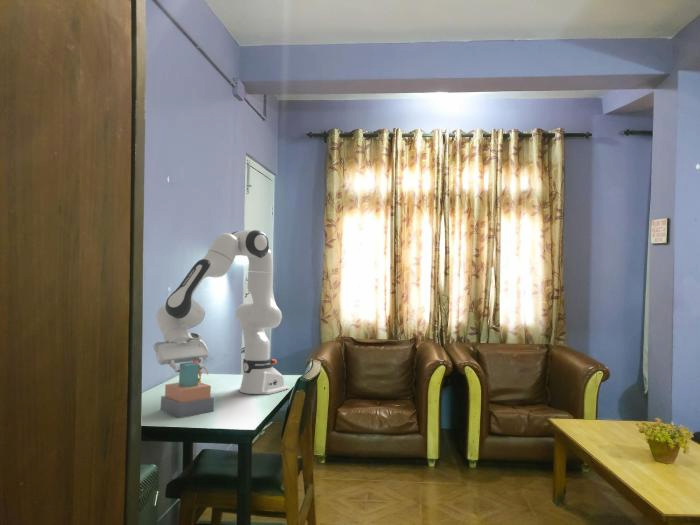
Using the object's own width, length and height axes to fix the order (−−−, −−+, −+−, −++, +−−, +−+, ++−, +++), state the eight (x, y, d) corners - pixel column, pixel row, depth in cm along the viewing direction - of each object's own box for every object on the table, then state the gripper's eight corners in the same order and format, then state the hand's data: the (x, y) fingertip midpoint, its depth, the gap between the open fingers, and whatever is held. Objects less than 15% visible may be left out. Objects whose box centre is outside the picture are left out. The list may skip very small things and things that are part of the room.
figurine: (186, 392, 225) (187, 364, 226) (189, 389, 231) (190, 362, 232) (206, 392, 226) (207, 365, 226) (208, 389, 232) (209, 362, 232)
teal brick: (190, 383, 201) (191, 362, 202) (197, 385, 198) (198, 364, 198) (178, 384, 198) (179, 363, 198) (185, 387, 194) (186, 365, 195)
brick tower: (194, 403, 208) (195, 379, 208) (213, 411, 198) (214, 385, 198) (160, 409, 198) (161, 384, 198) (179, 417, 188) (180, 391, 188)
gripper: (155, 337, 195) (166, 367, 189) (203, 334, 210) (216, 362, 203) (149, 348, 198) (160, 378, 192) (197, 343, 213) (209, 371, 206)
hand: (189, 369), depth 198 cm, fingers open, 8 cm apart
